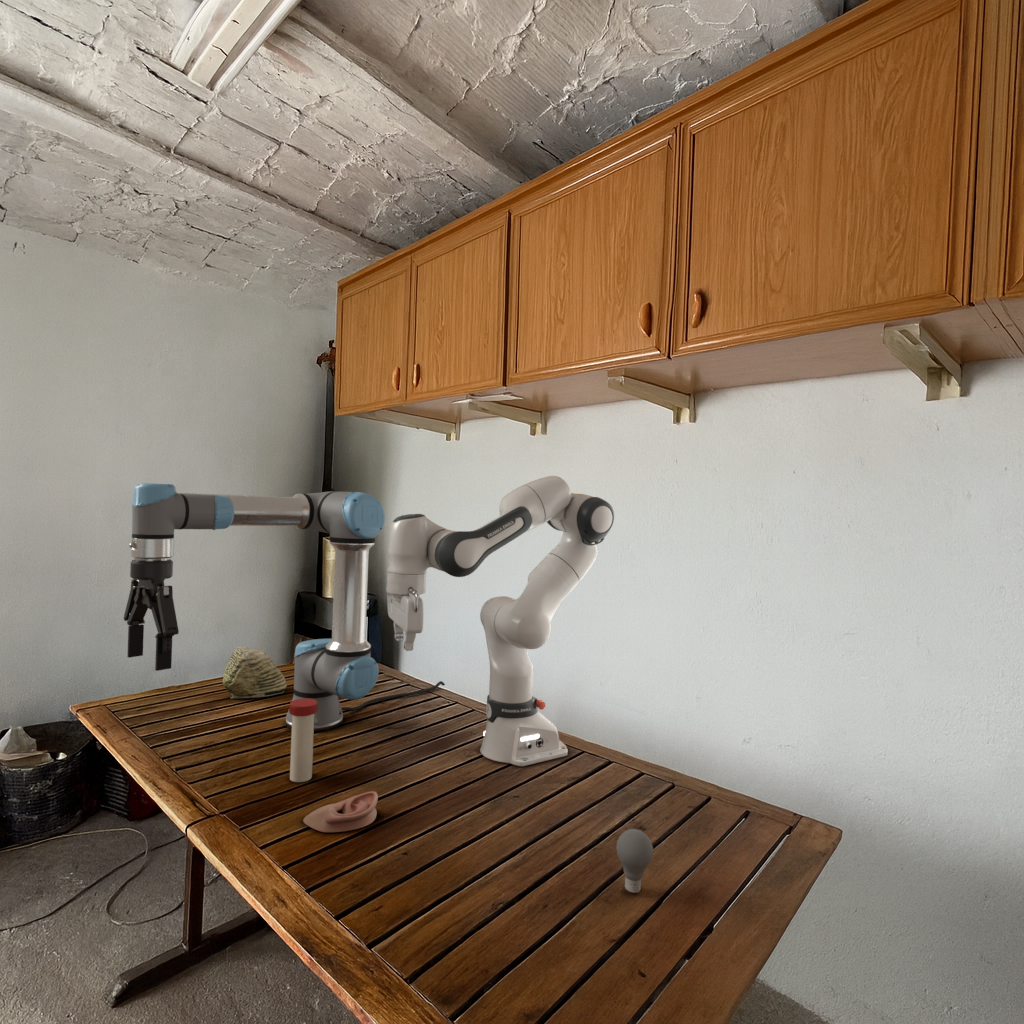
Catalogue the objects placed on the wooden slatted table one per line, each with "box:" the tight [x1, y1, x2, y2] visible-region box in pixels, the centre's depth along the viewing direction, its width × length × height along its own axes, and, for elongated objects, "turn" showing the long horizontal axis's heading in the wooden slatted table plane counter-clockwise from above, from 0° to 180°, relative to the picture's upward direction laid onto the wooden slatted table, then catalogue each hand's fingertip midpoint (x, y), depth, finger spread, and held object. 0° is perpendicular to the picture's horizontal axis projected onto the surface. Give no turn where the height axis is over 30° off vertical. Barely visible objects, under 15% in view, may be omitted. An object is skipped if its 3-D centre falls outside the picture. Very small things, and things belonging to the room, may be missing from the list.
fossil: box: [222, 646, 288, 699], centre depth 198 cm, size 9×18×15 cm, turn 132°
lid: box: [288, 698, 318, 716], centre depth 142 cm, size 6×6×2 cm
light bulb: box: [615, 828, 654, 894], centre depth 106 cm, size 6×6×10 cm
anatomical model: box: [302, 791, 379, 833], centre depth 125 cm, size 13×4×12 cm
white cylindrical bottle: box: [289, 714, 315, 783], centre depth 142 cm, size 5×5×17 cm
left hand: (148, 662), depth 129 cm, fingers open, 13 cm apart
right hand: (403, 645), depth 145 cm, fingers open, 8 cm apart
